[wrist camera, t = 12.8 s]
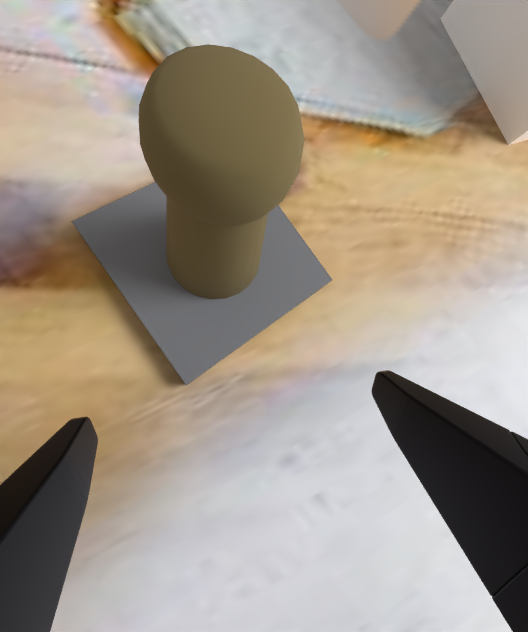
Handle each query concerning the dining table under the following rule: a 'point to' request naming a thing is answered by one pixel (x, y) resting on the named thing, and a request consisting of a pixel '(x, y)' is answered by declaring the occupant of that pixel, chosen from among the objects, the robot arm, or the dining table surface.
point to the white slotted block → (495, 57)
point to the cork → (218, 161)
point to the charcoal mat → (181, 305)
